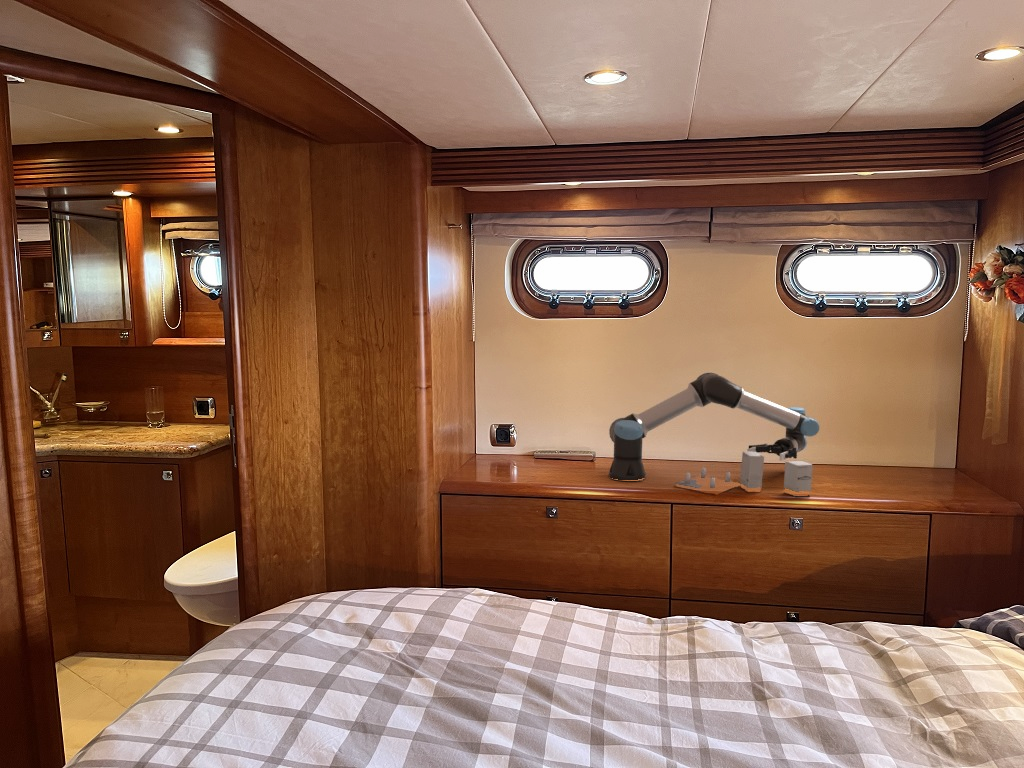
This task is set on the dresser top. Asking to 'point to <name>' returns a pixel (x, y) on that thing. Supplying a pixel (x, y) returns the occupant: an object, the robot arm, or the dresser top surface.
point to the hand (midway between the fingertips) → (764, 454)
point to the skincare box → (751, 469)
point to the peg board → (692, 483)
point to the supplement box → (798, 476)
